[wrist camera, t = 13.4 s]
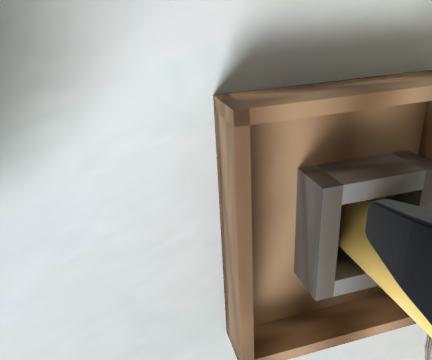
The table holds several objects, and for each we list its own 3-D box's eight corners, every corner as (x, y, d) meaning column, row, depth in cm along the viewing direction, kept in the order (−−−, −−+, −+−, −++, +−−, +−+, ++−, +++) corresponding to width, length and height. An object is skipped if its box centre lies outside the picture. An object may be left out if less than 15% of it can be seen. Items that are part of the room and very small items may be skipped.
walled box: (226, 331, 28) (244, 376, 25) (213, 95, 21) (235, 111, 18) (395, 289, 31) (431, 323, 28) (433, 70, 24) (487, 80, 21)
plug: (309, 224, 25) (485, 406, 14) (348, 174, 24) (569, 321, 13) (349, 247, 27) (535, 425, 15) (386, 201, 26) (611, 352, 15)
